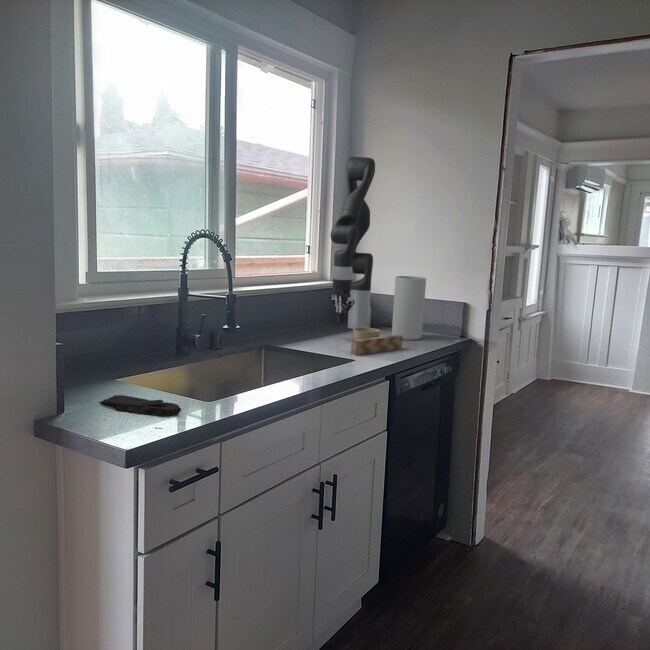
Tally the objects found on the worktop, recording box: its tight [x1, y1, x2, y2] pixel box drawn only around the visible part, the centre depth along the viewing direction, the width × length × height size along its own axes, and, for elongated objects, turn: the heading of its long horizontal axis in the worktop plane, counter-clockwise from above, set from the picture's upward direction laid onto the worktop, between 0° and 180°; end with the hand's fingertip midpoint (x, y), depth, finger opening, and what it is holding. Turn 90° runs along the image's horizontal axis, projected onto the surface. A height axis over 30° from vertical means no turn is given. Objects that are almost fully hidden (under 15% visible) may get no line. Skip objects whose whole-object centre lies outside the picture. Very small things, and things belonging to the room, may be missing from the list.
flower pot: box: [352, 327, 381, 340], centre depth 231 cm, size 10×10×7 cm
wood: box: [98, 394, 182, 418], centre depth 147 cm, size 22×8×3 cm, turn 67°
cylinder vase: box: [391, 275, 427, 341], centre depth 257 cm, size 12×12×25 cm
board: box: [350, 334, 403, 356], centre depth 227 cm, size 24×2×5 cm, turn 131°
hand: (340, 322), depth 243 cm, fingers closed
